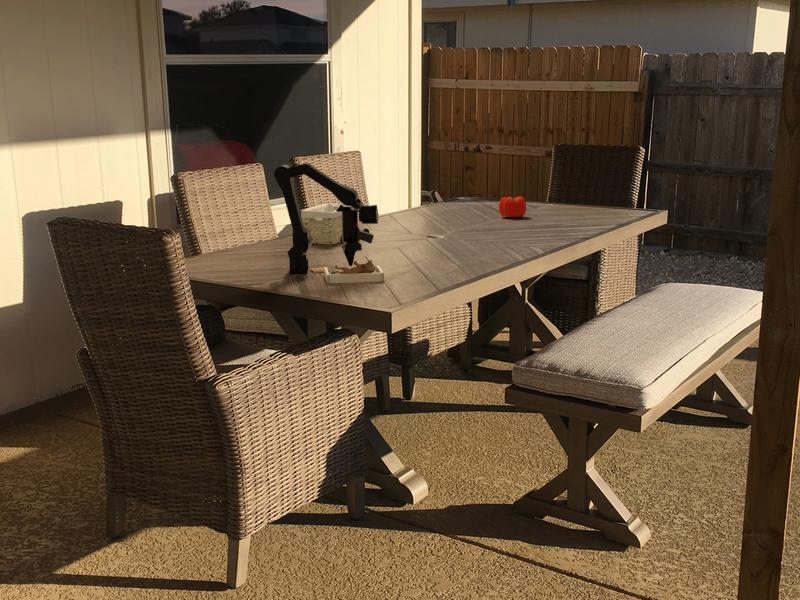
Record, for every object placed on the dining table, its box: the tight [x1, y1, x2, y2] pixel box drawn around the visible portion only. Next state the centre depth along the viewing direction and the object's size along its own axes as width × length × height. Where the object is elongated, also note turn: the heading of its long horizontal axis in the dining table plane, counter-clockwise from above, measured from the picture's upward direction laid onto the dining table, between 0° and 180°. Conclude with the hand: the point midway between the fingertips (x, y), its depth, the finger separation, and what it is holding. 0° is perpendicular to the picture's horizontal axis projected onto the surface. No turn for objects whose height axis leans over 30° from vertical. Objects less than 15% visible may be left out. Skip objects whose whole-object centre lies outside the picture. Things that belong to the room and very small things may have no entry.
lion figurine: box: [330, 259, 376, 274], centre depth 348 cm, size 15×5×9 cm
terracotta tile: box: [308, 266, 331, 274], centre depth 358 cm, size 6×6×1 cm
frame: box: [323, 265, 385, 284], centre depth 344 cm, size 20×14×3 cm
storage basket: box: [300, 202, 354, 245], centre depth 423 cm, size 24×16×15 cm
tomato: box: [498, 196, 527, 218], centre depth 485 cm, size 14×13×10 cm
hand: (350, 265), depth 354 cm, fingers closed
